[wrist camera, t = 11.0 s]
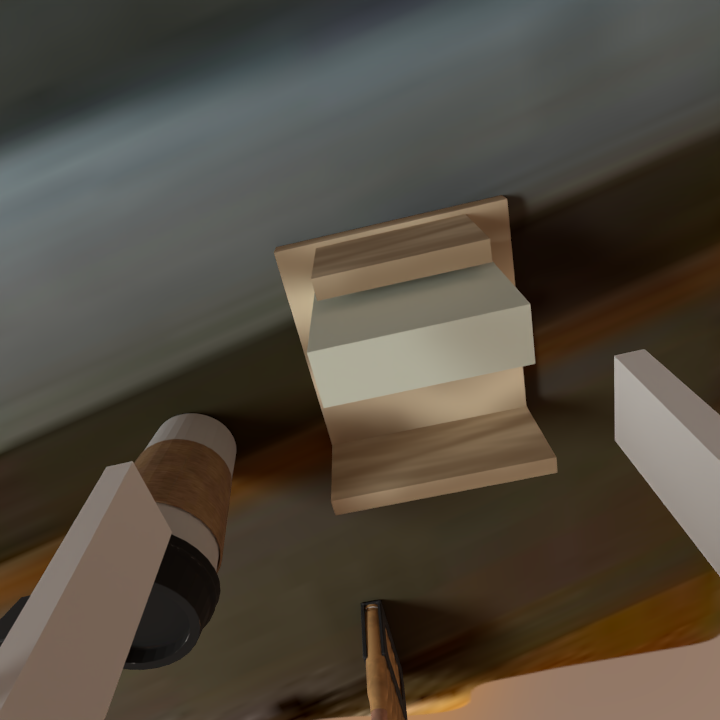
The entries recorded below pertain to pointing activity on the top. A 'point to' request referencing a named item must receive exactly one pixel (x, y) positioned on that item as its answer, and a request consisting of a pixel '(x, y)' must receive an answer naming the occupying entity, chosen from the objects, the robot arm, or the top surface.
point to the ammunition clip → (382, 665)
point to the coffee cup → (184, 534)
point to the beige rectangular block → (418, 334)
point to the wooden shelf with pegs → (427, 404)
